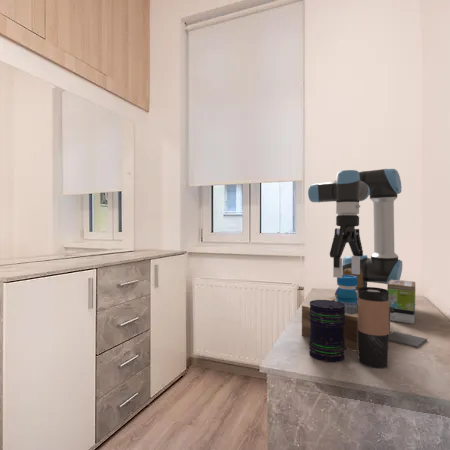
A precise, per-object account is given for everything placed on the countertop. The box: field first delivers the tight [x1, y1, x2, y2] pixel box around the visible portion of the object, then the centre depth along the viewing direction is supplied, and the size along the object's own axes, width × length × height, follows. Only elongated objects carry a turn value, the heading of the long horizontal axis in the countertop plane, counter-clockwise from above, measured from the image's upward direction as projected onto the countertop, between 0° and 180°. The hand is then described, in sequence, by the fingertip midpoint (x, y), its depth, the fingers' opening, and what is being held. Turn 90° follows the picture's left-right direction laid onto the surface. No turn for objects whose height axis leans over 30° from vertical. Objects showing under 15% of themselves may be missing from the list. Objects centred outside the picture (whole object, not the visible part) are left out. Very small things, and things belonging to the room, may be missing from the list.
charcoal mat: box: [388, 330, 428, 349], centre depth 104 cm, size 10×10×1 cm
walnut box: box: [301, 295, 391, 352], centre depth 110 cm, size 27×19×10 cm
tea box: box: [386, 279, 416, 325], centre depth 131 cm, size 15×10×15 cm, turn 149°
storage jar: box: [308, 299, 346, 364], centre depth 91 cm, size 10×10×15 cm
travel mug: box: [358, 286, 390, 369], centre depth 87 cm, size 8×8×20 cm
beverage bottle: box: [334, 275, 359, 315], centre depth 111 cm, size 8×8×20 cm
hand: (347, 275), depth 110 cm, fingers open, 13 cm apart
